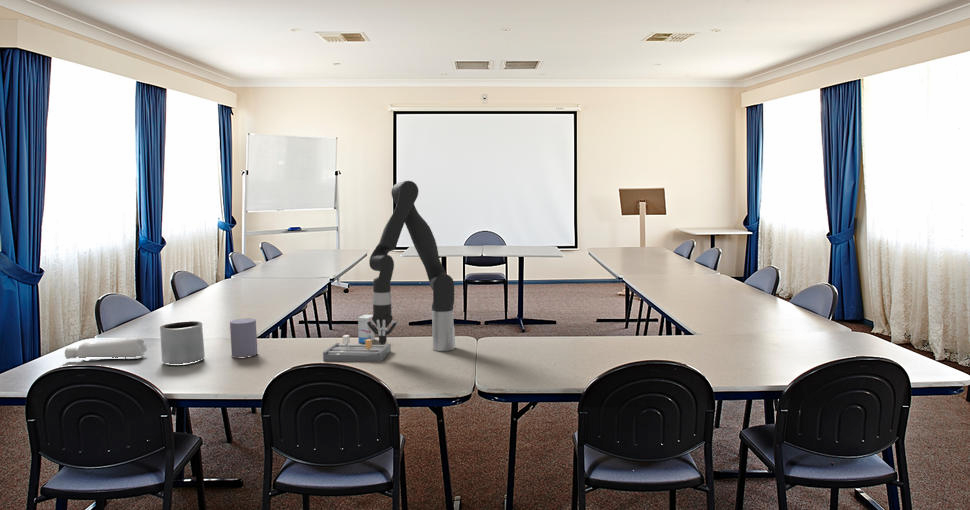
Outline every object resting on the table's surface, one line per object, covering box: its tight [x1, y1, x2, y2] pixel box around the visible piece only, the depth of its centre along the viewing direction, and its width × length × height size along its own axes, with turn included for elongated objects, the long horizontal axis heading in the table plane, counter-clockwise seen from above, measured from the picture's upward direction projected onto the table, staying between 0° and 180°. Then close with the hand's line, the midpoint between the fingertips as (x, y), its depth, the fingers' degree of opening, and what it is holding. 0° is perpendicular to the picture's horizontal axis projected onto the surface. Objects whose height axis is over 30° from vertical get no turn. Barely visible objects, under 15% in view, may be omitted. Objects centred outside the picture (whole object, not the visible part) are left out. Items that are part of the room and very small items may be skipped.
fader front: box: [364, 339, 373, 352], centre depth 265 cm, size 2×3×5 cm, turn 173°
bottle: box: [64, 337, 148, 360], centre depth 269 cm, size 9×9×30 cm
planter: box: [159, 320, 205, 364], centre depth 265 cm, size 16×16×16 cm
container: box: [229, 318, 259, 357], centre depth 273 cm, size 10×10×15 cm
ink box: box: [357, 314, 376, 344], centre depth 295 cm, size 9×5×12 cm, turn 168°
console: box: [322, 342, 392, 363], centre depth 270 cm, size 24×16×4 cm, turn 83°
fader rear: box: [342, 334, 351, 347], centre depth 274 cm, size 2×3×5 cm, turn 173°
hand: (382, 344), depth 265 cm, fingers closed
